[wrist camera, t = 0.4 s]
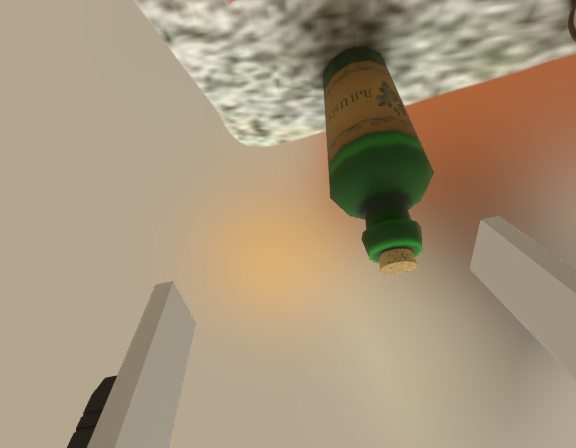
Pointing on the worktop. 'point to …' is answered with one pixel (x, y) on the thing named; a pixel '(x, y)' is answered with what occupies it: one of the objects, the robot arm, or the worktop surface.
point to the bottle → (374, 157)
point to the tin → (572, 22)
